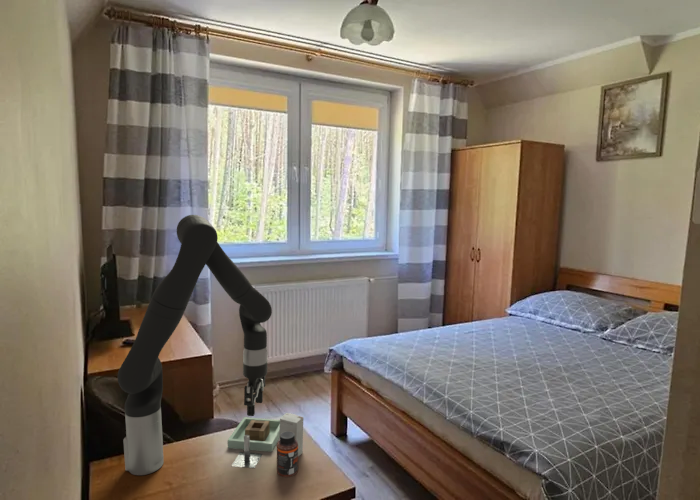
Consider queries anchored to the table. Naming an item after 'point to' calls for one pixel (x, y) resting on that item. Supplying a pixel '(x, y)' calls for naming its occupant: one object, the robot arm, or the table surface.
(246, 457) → the plate with metal peg
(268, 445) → the tray
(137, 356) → the robot arm
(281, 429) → the skincare box
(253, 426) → the ring
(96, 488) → the table surface
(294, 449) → the supplement bottle
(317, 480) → the table surface
